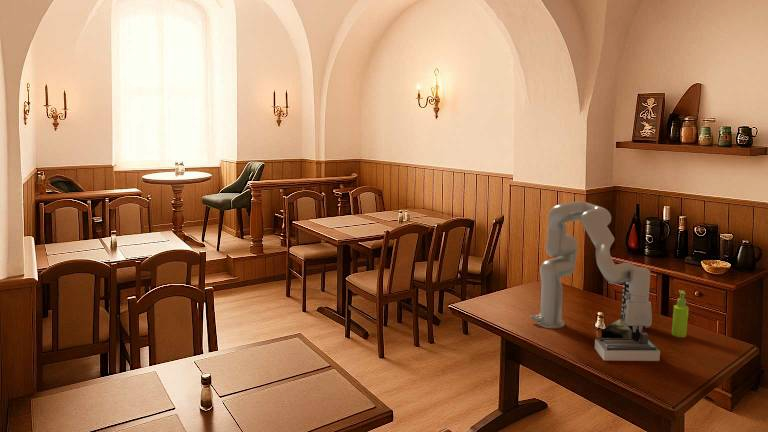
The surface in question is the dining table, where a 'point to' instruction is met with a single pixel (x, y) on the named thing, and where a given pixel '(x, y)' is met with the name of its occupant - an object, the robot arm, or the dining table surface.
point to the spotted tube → (625, 292)
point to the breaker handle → (643, 338)
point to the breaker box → (626, 350)
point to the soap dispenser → (680, 317)
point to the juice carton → (617, 330)
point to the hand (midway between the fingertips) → (635, 340)
